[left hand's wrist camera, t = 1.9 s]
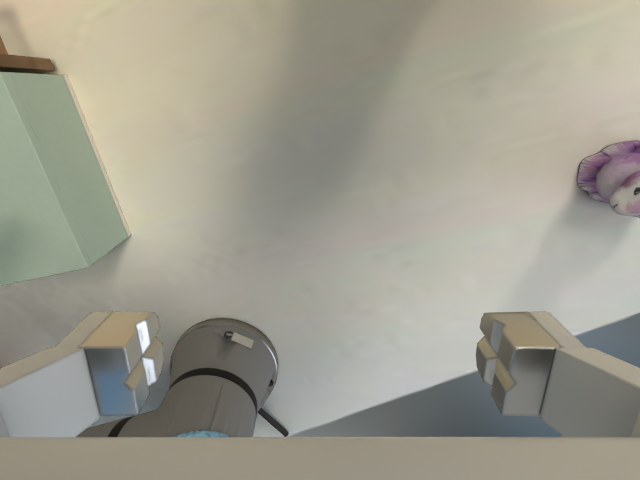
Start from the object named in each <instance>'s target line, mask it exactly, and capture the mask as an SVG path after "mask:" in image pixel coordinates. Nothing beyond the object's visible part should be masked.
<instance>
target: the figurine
mask: <svg viewBox="0 0 640 480" xmlns="http://www.w3.org/2000/svg"><path fill="white" fill-rule="evenodd" d="M579 169H580V170H579V174H578V179H577V180H578V185H579V187H580V188H582V189H584V190H586V191H588V193H589V196H590V197H591V198H592V199H594V200H597V201H601V202H606V203H610V205H611V207H612V209H613V211H614V212H616V213H618V214H620V215H627V216H634V217H639V218H640V141H628V142H621V143H617V144H613V145H609V146H608V147H606V148H605V149H603V150H602V151H601V152H599V153H597V154H595V155H592V156H589V157H587V158H585V159H584V160H583V161H582V163H581V164H580V168H579Z"/></svg>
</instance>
